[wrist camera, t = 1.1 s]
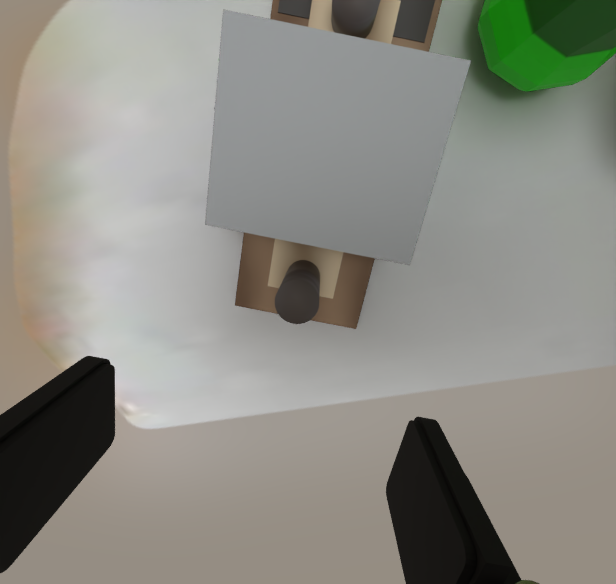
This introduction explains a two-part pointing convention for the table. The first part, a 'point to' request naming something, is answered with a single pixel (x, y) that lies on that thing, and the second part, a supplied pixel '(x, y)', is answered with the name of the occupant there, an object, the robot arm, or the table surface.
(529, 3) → the plastic bottle
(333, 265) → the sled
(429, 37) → the track board
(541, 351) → the table surface
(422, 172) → the tunnel
